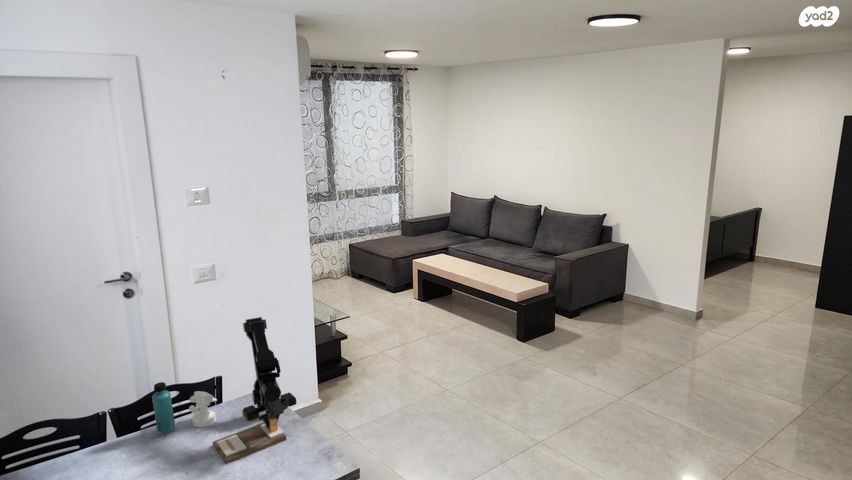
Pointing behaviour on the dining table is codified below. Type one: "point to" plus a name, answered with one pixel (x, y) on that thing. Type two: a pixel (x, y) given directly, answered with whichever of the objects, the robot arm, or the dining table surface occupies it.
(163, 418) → the beverage bottle
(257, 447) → the ticket board
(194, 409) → the character figurine
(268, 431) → the stub
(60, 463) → the dining table surface
